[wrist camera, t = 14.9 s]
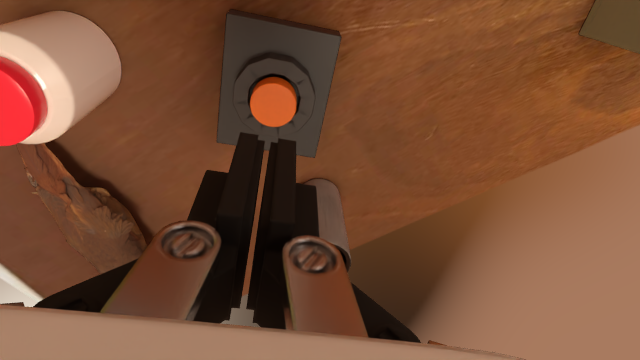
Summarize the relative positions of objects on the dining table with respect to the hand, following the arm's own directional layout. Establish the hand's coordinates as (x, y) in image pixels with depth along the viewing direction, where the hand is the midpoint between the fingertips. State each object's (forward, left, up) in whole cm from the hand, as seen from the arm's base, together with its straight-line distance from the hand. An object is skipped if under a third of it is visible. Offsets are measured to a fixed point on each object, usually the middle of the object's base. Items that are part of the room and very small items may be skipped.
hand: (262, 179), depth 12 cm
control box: (+5, 0, -24) cm, 25 cm away
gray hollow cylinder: (+16, +6, -25) cm, 30 cm away
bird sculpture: (+20, -15, -25) cm, 35 cm away
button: (+5, 0, -21) cm, 21 cm away
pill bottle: (+6, -17, -25) cm, 30 cm away
